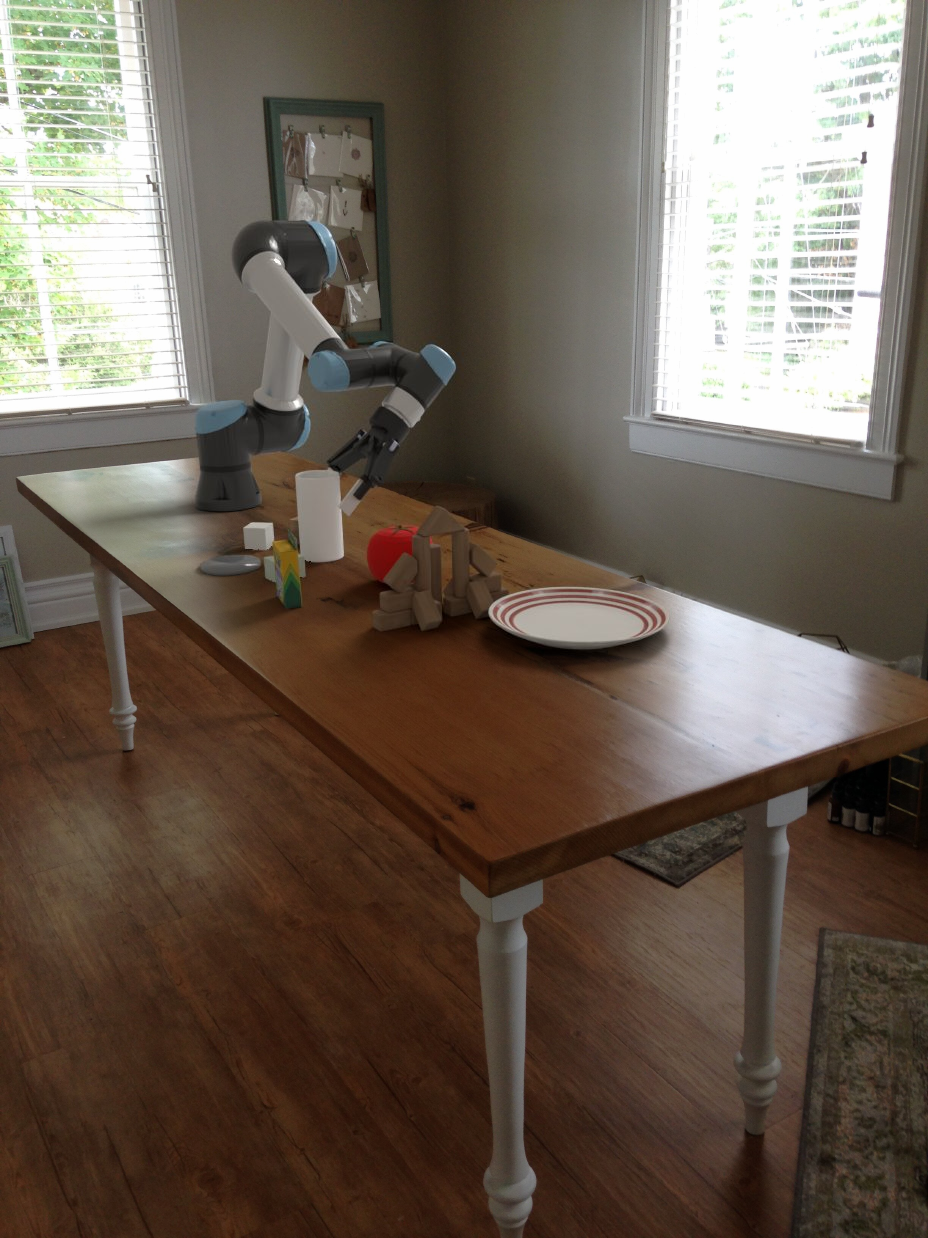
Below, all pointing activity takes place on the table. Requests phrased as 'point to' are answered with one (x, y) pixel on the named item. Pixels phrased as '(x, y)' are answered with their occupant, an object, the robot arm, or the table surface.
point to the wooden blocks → (438, 579)
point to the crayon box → (287, 572)
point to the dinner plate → (578, 617)
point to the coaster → (230, 565)
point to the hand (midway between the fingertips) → (328, 504)
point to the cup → (319, 515)
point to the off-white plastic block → (258, 536)
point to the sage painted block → (271, 567)
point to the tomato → (389, 548)
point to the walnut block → (294, 529)
